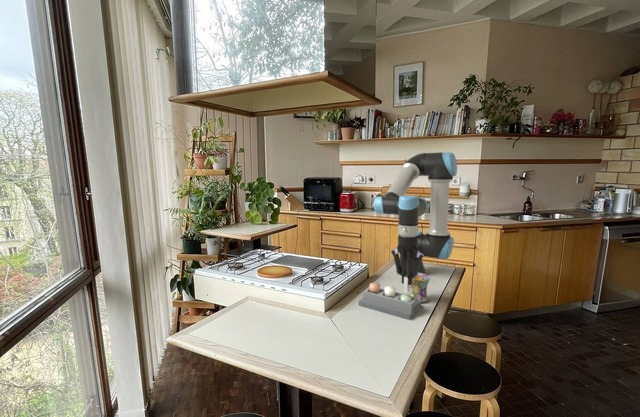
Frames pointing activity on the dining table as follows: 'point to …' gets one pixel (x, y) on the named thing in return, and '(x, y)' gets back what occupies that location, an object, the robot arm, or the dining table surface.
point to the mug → (420, 287)
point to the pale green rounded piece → (406, 298)
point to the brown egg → (374, 288)
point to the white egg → (390, 291)
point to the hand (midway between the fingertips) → (406, 291)
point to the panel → (390, 304)
